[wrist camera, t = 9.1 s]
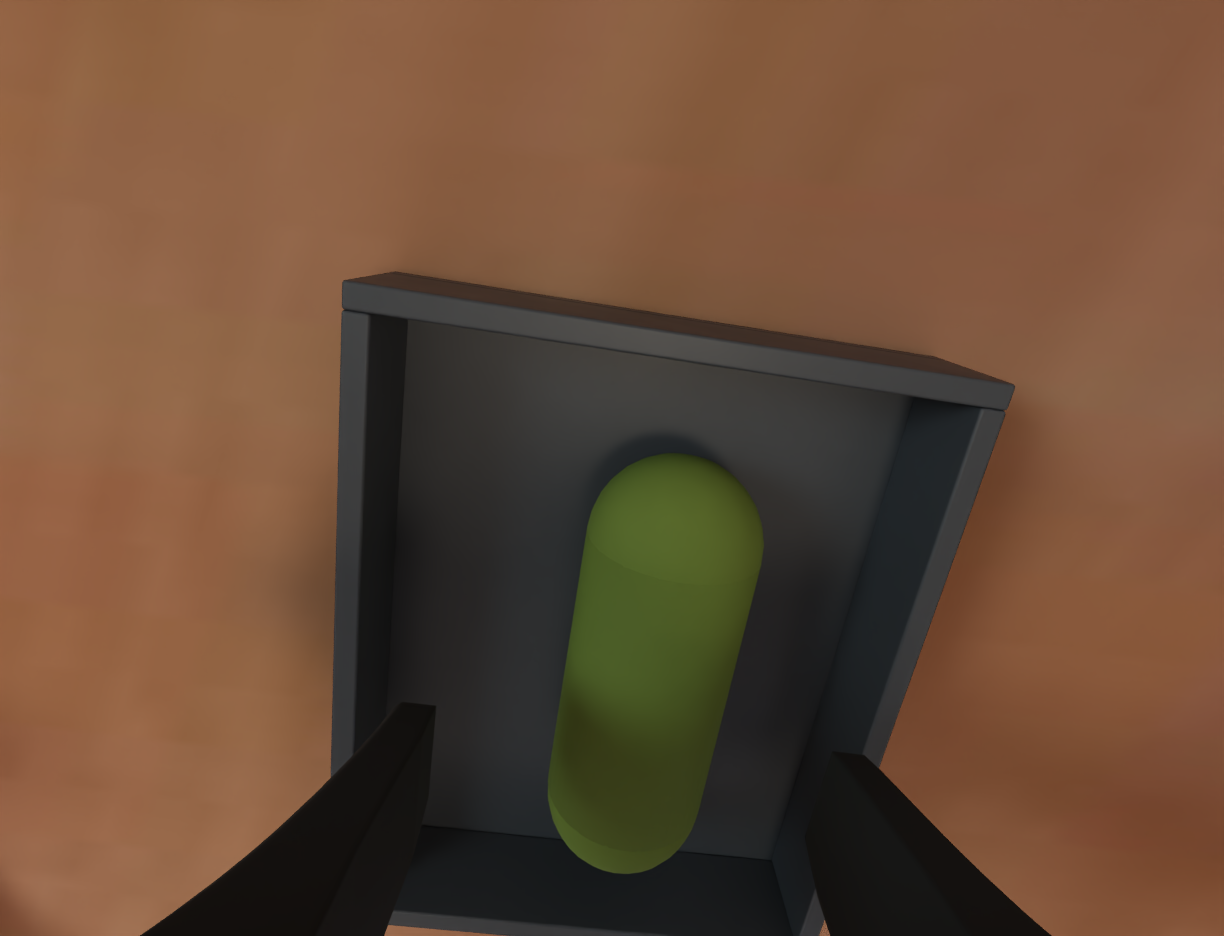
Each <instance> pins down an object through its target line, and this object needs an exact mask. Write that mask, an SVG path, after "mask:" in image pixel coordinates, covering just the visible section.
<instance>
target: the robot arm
mask: <svg viewBox="0 0 1224 936" xmlns="http://www.w3.org/2000/svg"><path fill="white" fill-rule="evenodd" d="M435 716H436V706H435V705H426V704H418V703H409V702H400V703H399V704H397V705H396V706H395V707H394V708H393V709H392V710H391V712H390V713H389V714H388V715H387V717H386V718H385V719H384V720H383V721H382V723H381V724H380V725H379V726H378V727H377V728H376V730H375V731H374V732H373V733H372V734H371V735H370V737H369V738H368V739H367V740H366V741H365V742H364V743H363V744H362V745H361V747H360V748H359V749H358V750H357V751H356V752H355V753H354V754H353V755H352V757H351V758H350V759H349V760H348V761H347V762H346V763H345V764H344V765H343V766H342V767H341V768H340V769H339V770H338V771H337V772H336V773H335V774H334V775H333V776H332V777H331V778H330V779H329V780H328V781H327V782H326V783H325V784H324V786H323V787H322V788H321V789H320V790H319V791H318V792H316V793H315V794H314V795H313V796H312V797H311V798H310V799H309V800H308V801H307V802H306V803H305V804H304V805H303V806H302V807H301V808H300V809H298V810H297V811H296V812H295V813H294V814H293V815H292V816H291V817H290V818H289V819H288V820H287V821H286V822H285V823H283V824H282V825H281V826H280V827H279V828H278V829H277V830H276V831H275V832H274V833H272V834H271V835H270V836H269V837H268V838H267V839H266V840H264V841H263V842H262V843H261V844H260V845H259V846H258V847H256V848H255V849H254V850H253V851H252V852H250V853H249V854H248V855H247V856H246V857H244V858H243V859H242V860H241V861H239V862H238V863H237V864H236V865H235V866H233V867H232V868H231V869H230V870H228V871H227V872H226V873H225V874H223V875H222V876H221V877H220V878H218V879H217V880H216V881H215V882H213V883H212V884H211V885H209V886H208V887H207V888H205V889H204V890H203V891H201V892H200V893H198V894H197V895H196V896H194V897H193V898H192V899H190V900H189V901H188V902H186V903H185V904H184V905H182V906H181V907H180V908H178V909H177V910H176V911H174V912H173V913H172V914H170V915H169V916H167V917H166V918H165V919H163V920H162V921H160V922H159V923H158V924H156V925H155V926H153V927H152V928H150V929H149V930H148V931H146V932H145V933H143V934H142V935H140V936H384V934H385V932H386V929H387V926H388V924H389V921H390V918H391V916H392V913H393V910H394V907H395V905H396V902H397V899H398V897H399V894H400V891H401V888H402V886H403V883H404V880H405V878H406V875H407V872H408V869H409V867H410V864H411V861H412V858H413V855H414V851H415V847H416V844H417V840H418V836H419V832H420V829H421V825H422V821H423V817H424V813H425V809H426V805H427V801H428V797H429V786H430V774H431V763H432V751H433V739H434V728H435ZM805 841H806V846H807V851H808V856H809V861H810V866H811V871H812V875H813V879H814V884H815V888H816V892H817V897H818V900H819V903H820V906H821V909H822V912H823V915H824V918H825V921H826V924H827V927H828V930H829V933H830V936H1051V935H1050V934H1049V933H1048V932H1046V931H1045V930H1044V929H1043V928H1042V927H1041V926H1039V925H1038V924H1037V923H1036V922H1035V921H1034V920H1033V919H1031V918H1030V917H1029V916H1028V915H1027V914H1026V913H1025V912H1023V911H1022V910H1021V909H1020V908H1019V907H1018V906H1017V905H1016V904H1015V903H1014V902H1013V901H1011V900H1010V899H1009V898H1008V897H1007V896H1006V895H1005V894H1004V893H1003V892H1002V891H1001V890H1000V889H998V888H997V887H996V886H995V885H994V884H993V883H992V882H991V881H990V880H989V879H988V878H987V877H986V876H985V875H983V874H982V873H981V872H980V871H979V870H978V869H977V868H976V867H975V866H974V865H973V864H972V863H971V862H970V861H969V860H968V859H967V858H966V857H965V856H964V855H963V854H962V853H961V852H960V851H959V850H958V849H957V848H956V847H955V846H954V845H953V844H952V843H951V842H950V841H949V840H948V839H947V838H946V837H945V836H944V835H943V834H942V833H941V832H940V831H939V830H938V829H937V828H936V827H935V826H934V825H933V824H932V823H931V822H930V821H929V820H928V819H927V818H926V817H925V816H924V815H923V814H922V813H921V812H920V811H919V810H918V809H917V808H916V806H915V805H914V804H913V803H912V802H911V801H910V800H909V799H908V798H907V797H906V796H905V795H904V794H903V793H902V792H901V791H900V790H899V789H898V788H897V787H896V786H895V785H894V784H893V783H892V782H891V781H890V780H889V779H888V778H887V777H886V776H885V775H884V773H883V772H882V771H881V770H880V769H879V768H878V767H877V766H876V765H875V764H873V763H872V762H871V761H870V760H869V759H868V758H867V757H866V756H865V755H861V754H852V753H844V752H835V751H832V753H831V757H830V760H829V763H828V766H827V769H826V772H825V775H824V778H823V781H822V784H821V788H820V791H819V794H818V797H817V800H816V803H815V806H814V809H813V812H812V815H811V819H810V822H809V825H808V828H807V831H806V834H805Z"/></svg>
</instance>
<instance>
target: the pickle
mask: <svg viewBox="0 0 1224 936" xmlns="http://www.w3.org/2000/svg"><path fill="white" fill-rule="evenodd" d="M763 549H764V540H763V528H762V524H761V520H760V517H759V513H758V510H757V507H756V505H755V504H754V502H753V500H752V498H751V496H750V495H749V493H748V491H747V490H746V489H745V487H744V486H743V485H742V484H741V483H740V482H739V481H738V480H737V478H736V477H735V476H733V475H732V474H731V473H730V472H728V471H727V470H725V469H724V468H722V467H721V466H720V465H718V464H716V463H714V462H712V461H710V460H707V459H705V458H701V457H698V456H694V455H689V454H681V453H664V454H659V455H655V456H650V457H646V458H643V459H641V460H639V461H637V462H635V463H633V464H631V465H629V466H627V467H626V468H624V469H623V470H622V471H621V472H619V473H618V474H617V475H616V476H614V477H613V478H612V479H611V480H610V481H609V483H608V484H607V485H606V486H605V487H604V489H603V490H602V491H601V493H600V495H599V497H598V499H597V501H596V503H595V504H594V507H593V509H592V511H591V514H590V518H589V522H588V526H587V531H586V537H585V544H584V550H583V557H582V563H581V569H580V576H579V582H578V588H577V595H576V601H575V608H574V614H573V620H572V627H571V633H570V639H569V646H568V652H567V659H566V665H565V671H564V678H563V684H562V690H561V697H560V703H559V710H558V716H557V722H556V729H555V735H554V741H553V748H552V754H551V761H550V767H549V773H548V801H549V806H550V810H551V815H552V819H553V821H554V824H555V826H556V828H557V830H558V832H559V834H560V835H561V837H562V839H563V840H564V842H565V843H566V844H567V846H568V847H569V848H570V849H571V850H572V851H573V852H574V853H575V854H576V855H577V856H578V857H579V858H581V859H582V860H584V861H585V862H587V863H588V864H590V865H592V866H594V867H596V868H598V869H601V870H603V871H607V872H612V873H621V874H631V873H639V872H643V871H646V870H649V869H652V868H654V867H656V866H657V865H659V864H661V863H662V862H664V861H666V860H667V859H669V858H670V857H671V856H672V855H673V854H674V853H675V852H676V851H677V850H678V849H679V848H680V847H681V846H682V844H683V843H684V842H685V840H686V839H687V837H688V835H689V834H690V832H691V830H692V828H693V825H694V823H695V820H696V817H697V814H698V811H699V807H700V803H701V799H702V795H703V792H704V788H705V784H706V780H707V776H708V772H709V768H710V764H711V760H712V756H713V752H714V748H715V744H716V740H717V737H718V733H719V729H720V725H721V721H722V717H723V713H724V709H725V705H726V701H727V697H728V693H729V689H730V685H731V682H732V678H733V674H734V670H735V666H736V662H737V658H738V654H739V650H740V646H741V642H742V638H743V634H744V630H745V627H746V623H747V619H748V615H749V611H750V607H751V603H752V599H753V595H754V591H755V587H756V583H757V579H758V576H759V572H760V568H761V562H762V556H763Z"/></svg>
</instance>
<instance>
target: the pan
mask: <svg viewBox="0 0 1224 936" xmlns="http://www.w3.org/2000/svg"><path fill="white" fill-rule="evenodd" d="M342 308H343V309H345V310H343V311H342V322H341V364H340V407H339V449H338V492H337V534H336V576H335V619H334V661H333V704H332V746H331V777H332V776H333V775H334V774H335V773H336V772H337V771H338V770H339V769H340V768H341V767H342V766H343V765H344V764H345V763H346V762H347V761H348V760H349V759H350V758H351V757H352V755H353V754H354V753H355V752H356V751H357V750H358V749H359V748H360V747H361V745H362V744H363V743H364V742H365V741H366V740H367V739H368V738H369V737H370V735H371V734H372V733H373V732H374V731H375V730H376V728H377V727H378V726H379V725H380V724H381V723H382V721H383V720H384V719H385V718H386V717H387V715H388V714H389V713H390V712H391V710H392V709H393V708H394V707H395V706H396V705H397V704H399V703H400V702H409V703H418V704H426V705H435V706H436V716H435V728H434V739H433V751H432V763H431V774H430V786H429V797H428V801H427V805H426V809H425V813H424V817H423V821H422V825H421V829H420V832H419V836H418V840H417V844H416V847H415V851H414V855H413V858H412V861H411V864H410V867H409V869H408V872H407V875H406V878H405V880H404V883H403V886H402V888H401V891H400V894H399V897H398V899H397V902H396V905H395V907H394V910H393V913H392V916H391V918H390V921H389V924H388V925H396V926H407V927H418V928H429V929H440V930H451V931H462V932H474V933H485V934H496V935H507V936H819V934H820V931H821V928H822V926H823V923H824V920H825V918H824V915H823V912H822V909H821V906H820V903H819V900H818V897H817V892H816V888H815V884H814V879H813V875H812V871H811V866H810V861H809V856H808V851H807V846H806V841H805V834H806V831H807V828H808V825H809V822H810V819H811V815H812V812H813V809H814V806H815V803H816V800H817V797H818V794H819V791H820V788H821V784H822V781H823V778H824V775H825V772H826V769H827V766H828V763H829V760H830V757H831V753H832V751H835V752H844V753H852V754H861V755H865V756H866V757H867V758H868V759H869V760H870V761H871V762H872V763H873V764H875V765H876V766H877V767H878V768H879V766H880V764H881V761H882V758H883V755H884V752H885V750H886V747H887V744H888V741H889V738H890V736H891V733H892V730H893V727H894V724H895V722H896V719H897V716H898V713H899V710H900V708H901V705H902V702H903V699H904V696H905V694H906V691H907V688H908V685H909V683H910V680H911V677H912V674H913V671H914V669H915V666H916V663H917V660H918V657H919V655H920V652H921V649H922V646H923V643H924V641H925V638H926V635H927V632H928V629H929V627H930V624H931V621H932V618H933V615H934V613H935V610H936V607H937V604H938V601H939V599H940V596H941V593H942V590H943V588H944V585H945V582H946V579H947V576H948V574H949V571H950V568H951V565H952V562H953V560H954V557H955V554H956V551H957V548H958V546H959V543H960V540H961V537H962V534H963V532H964V529H965V526H966V523H967V520H968V518H969V515H970V512H971V509H972V507H973V504H974V501H975V498H976V495H977V493H978V490H979V487H980V484H981V481H982V479H983V476H984V473H985V470H986V467H987V465H988V462H989V459H990V456H991V453H992V451H993V448H994V445H995V442H996V439H997V437H998V434H999V431H1000V428H1001V425H1002V423H1003V420H1004V417H1005V412H1004V411H1003V410H1007V408H1008V406H1009V403H1010V400H1011V398H1012V395H1013V392H1014V389H1015V386H1014V385H1013V384H1011V383H1008V382H1005V381H1003V380H1000V379H997V378H994V377H991V376H988V375H986V374H983V373H980V372H977V371H974V370H971V369H969V368H966V367H963V366H960V365H957V364H954V363H951V362H949V361H945V360H943V359H940V358H937V357H933V356H926V355H920V354H914V353H907V352H901V351H895V350H888V349H882V348H876V347H869V346H863V345H857V344H850V343H844V342H838V341H831V340H825V339H819V338H812V337H806V336H800V335H793V334H787V333H781V332H774V331H768V330H762V329H755V328H749V327H743V326H736V325H730V324H724V323H717V322H711V321H705V320H698V319H692V318H686V317H679V316H673V315H667V314H660V313H654V312H648V311H641V310H635V309H629V308H622V307H616V306H610V305H603V304H597V303H591V302H584V301H578V300H572V299H565V298H559V297H553V296H546V295H540V294H534V293H527V292H521V291H515V290H508V289H502V288H496V287H489V286H483V285H477V284H470V283H464V282H458V281H451V280H445V279H439V278H432V277H426V276H420V275H413V274H407V273H401V272H390V273H384V274H378V275H372V276H366V277H360V278H354V279H348V280H344V281H343V283H342ZM664 453H681V454H689V455H694V456H698V457H701V458H705V459H707V460H710V461H712V462H714V463H716V464H718V465H720V466H721V467H722V468H724V469H725V470H727V471H728V472H730V473H731V474H732V475H733V476H735V477H736V478H737V480H738V481H739V482H740V483H741V484H742V485H743V486H744V487H745V489H746V490H747V491H748V493H749V495H750V496H751V498H752V500H753V502H754V504H755V505H756V507H757V510H758V513H759V517H760V520H761V524H762V528H763V540H764V549H763V556H762V562H761V568H760V572H759V576H758V579H757V583H756V587H755V591H754V595H753V599H752V603H751V607H750V611H749V615H748V619H747V623H746V627H745V630H744V634H743V638H742V642H741V646H740V650H739V654H738V658H737V662H736V666H735V670H734V674H733V678H732V682H731V685H730V689H729V693H728V697H727V701H726V705H725V709H724V713H723V717H722V721H721V725H720V729H719V733H718V737H717V740H716V744H715V748H714V752H713V756H712V760H711V764H710V768H709V772H708V776H707V780H706V784H705V788H704V792H703V795H702V799H701V803H700V807H699V811H698V814H697V817H696V820H695V823H694V825H693V828H692V830H691V832H690V834H689V835H688V837H687V839H686V840H685V842H684V843H683V844H682V846H681V847H680V848H679V849H678V850H677V851H676V852H675V853H674V854H673V855H672V856H671V857H670V858H669V859H667V860H666V861H664V862H662V863H661V864H659V865H657V866H656V867H654V868H652V869H649V870H646V871H643V872H639V873H631V874H621V873H612V872H607V871H603V870H601V869H598V868H596V867H594V866H592V865H590V864H588V863H587V862H585V861H584V860H582V859H581V858H579V857H578V856H577V855H576V854H575V853H574V852H573V851H572V850H571V849H570V848H569V847H568V846H567V844H566V843H565V842H564V840H563V839H562V837H561V835H560V834H559V832H558V830H557V828H556V826H555V824H554V821H553V819H552V815H551V810H550V806H549V801H548V773H549V767H550V761H551V754H552V748H553V741H554V735H555V729H556V722H557V716H558V710H559V703H560V697H561V690H562V684H563V678H564V671H565V665H566V659H567V652H568V646H569V639H570V633H571V627H572V620H573V614H574V608H575V601H576V595H577V588H578V582H579V576H580V569H581V563H582V557H583V550H584V544H585V537H586V531H587V526H588V522H589V518H590V514H591V511H592V509H593V507H594V504H595V503H596V501H597V499H598V497H599V495H600V493H601V491H602V490H603V489H604V487H605V486H606V485H607V484H608V483H609V481H610V480H611V479H612V478H613V477H614V476H616V475H617V474H618V473H619V472H621V471H622V470H623V469H624V468H626V467H627V466H629V465H631V464H633V463H635V462H637V461H639V460H641V459H643V458H646V457H650V456H655V455H659V454H664Z"/></svg>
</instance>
